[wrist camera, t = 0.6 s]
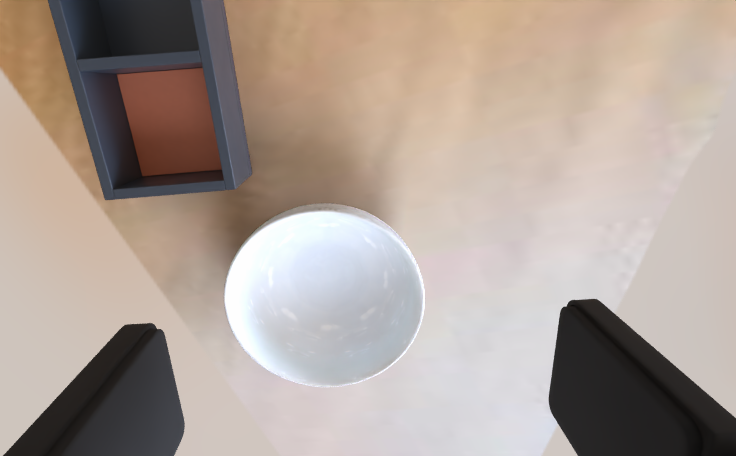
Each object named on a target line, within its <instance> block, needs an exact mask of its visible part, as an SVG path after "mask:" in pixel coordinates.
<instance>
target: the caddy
mask: <svg viewBox="0 0 736 456" xmlns="http://www.w3.org/2000/svg"><path fill="white" fill-rule="evenodd" d="M48 3H49V6H50V10H51V13H52V17H53V20H54V24H55V27H56V31H57V34H58V38H59V41H60V45H61V48H62V52H63V55H64V59H65V62H66V66H67V69H68V73H69V76H70V79H71V83H72V86H73V90H74V93H75V97H76V100H77V104H78V107H79V111H80V114H81V118H82V121H83V125H84V128H85V132H86V135H87V139H88V142H89V145H90V149H91V152H92V156H93V159H94V163H95V166H96V170H97V173H98V177H99V180H100V184H101V187H102V191H103V194H104V198H105V200H114V199H126V198H138V197H150V196H162V195H174V194H186V193H198V192H210V191H222V190H233V189H236V188H237V187H239V186H240V185H241V184H242V183H243V182H244V181H245V180H246V179H247V178H248V177H250V176H251V175H252V169H251V163H250V157H249V151H248V145H247V139H246V133H245V127H244V121H243V115H242V109H241V103H240V97H239V91H238V85H237V79H236V73H235V67H234V61H233V55H232V49H231V43H230V37H229V31H228V25H227V19H226V13H225V7H224V1H223V0H48Z"/></svg>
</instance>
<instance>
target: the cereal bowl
mask: <svg viewBox="0 0 736 456" xmlns="http://www.w3.org/2000/svg"><path fill="white" fill-rule="evenodd" d="M224 305H225V311H226V316H227V319H228V322H229V325H230V328H231V330H232V332H233V334H234V336H235V337H236V339H237V341H238V342H239V344H240V345H241V346H242V348H243V349H244V350H245V351H246V353H247V354H248V355H249V356H250V357H251V358H252V359H253V360H254V361H256V362H257V363H258V364H259V365H261V366H262V367H263V368H265V369H266V370H268V371H270V372H271V373H273V374H275V375H277V376H279V377H282V378H284V379H286V380H289V381H292V382H295V383H299V384H303V385H308V386H316V387H338V386H345V385H350V384H355V383H358V382H361V381H364V380H367V379H369V378H371V377H374V376H376V375H378V374H379V373H381V372H383V371H384V370H386V369H387V368H389V367H390V366H391V365H393V364H394V363H395V362H396V361H397V360H398V359H399V358H400V357H401V356H402V355H403V354H404V353H405V352H406V350H407V349H408V348H409V346H410V345H411V343H412V342H413V340H414V339H415V337H416V335H417V332H418V330H419V327H420V324H421V321H422V318H423V313H424V306H425V293H424V286H423V281H422V276H421V274H420V270H419V267H418V265H417V263H416V260H415V259H414V257H413V254H412V253H411V251H410V250H409V248H408V247H407V245H406V244H405V243H404V241H403V240H402V238H400V236H399V235H398V234H397V233H396V232H395V231H394V230H393V229H392V228H391V227H389V226H388V225H387V224H386V223H384V222H383V221H382V220H380V219H378V218H377V217H375V216H374V215H372V214H369V213H368V212H366V211H363V210H360V209H357V208H355V207H350V206H346V205H342V204H334V203H330V204H329V203H325V204H324V203H320V204H310V205H304V206H299V207H295V208H292V209H290V210H287V211H284V212H283V213H280V214H278V215H276V216H275V217H273V218H271V219H270V220H268V221H266V222H265V223H264V224H262V225H261V226H260V227H258V229H256V230H255V231H254V232H253V233H252V234H251V235H250V236H249V237H248V238H247V239H246V240H245V242H244V243H243V244H242V246H241V247H240V248H239V250H238V251H237V253H236V255H235V257H234V258H233V260H232V263H231V265H230V268H229V270H228V273H227V277H226V282H225V286H224Z"/></svg>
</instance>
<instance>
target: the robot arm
mask: <svg viewBox="0 0 736 456" xmlns="http://www.w3.org/2000/svg"><path fill="white" fill-rule="evenodd" d="M549 406H550V409H551V412H552V414H553V416H554V418H555V419H556V421H557V423H558V424H559V426H560V427H561V429H562V431H563V432H564V434H565V435H566V437H567V439H568V440H569V442H570V443H571V445H572V447H573V448H574V450H575V451H576V453H577V455H578V456H736V418H735V417H734V416H732V415H731V414H730V413H729V412H728V411H727V410H726V409H724V408H723V407H722V406H721V405H720V404H719V403H717V402H716V401H715V400H714V399H713V398H712V397H710V396H709V395H708V394H707V393H706V392H705V391H703V390H702V389H701V388H700V387H699V386H697V385H696V384H695V383H694V382H693V381H692V380H691V379H690V378H688V377H687V376H686V375H685V374H684V373H682V372H681V371H680V370H679V369H678V368H677V367H676V366H674V365H673V364H672V363H671V362H670V361H669V360H668V359H666V358H665V357H664V356H663V355H662V354H661V353H659V352H658V351H657V350H656V349H655V348H654V347H652V346H651V345H650V344H649V343H648V342H646V341H645V340H644V339H643V338H642V337H641V336H640V335H638V334H637V333H636V332H635V331H634V330H633V329H631V328H630V327H629V326H628V325H627V324H626V323H625V322H623V321H622V320H621V319H620V318H619V317H618V316H616V315H615V314H614V313H613V312H612V311H611V310H609V309H608V308H607V307H606V306H605V305H604V304H603V303H601V302H600V301H599V300H597V299H585V300H571V301H570V302H569V303H568V304H567V307H563V308H562V309H561V312H560V318H559V325H558V333H557V340H556V348H555V355H554V362H553V370H552V377H551V385H550V392H549ZM183 433H184V418H183V413H182V409H181V404H180V400H179V395H178V391H177V387H176V383H175V378H174V374H173V369H172V365H171V360H170V356H169V352H168V347H167V343H166V339H165V335H164V332H163V331H162V330H161V329H157V328H156V326H155V325H154V324H152V323H147V324H130V325H124V326H123V327H122V328H121V329H120V330H119V331H118V332H117V333H116V334H115V335H114V337H113V338H112V339H111V340H110V341H109V342H108V343H107V344H106V345H105V346H104V347H103V348H102V349H101V350H100V352H99V353H98V354H97V355H96V356H95V357H94V358H93V359H92V360H91V362H89V363H88V365H87V366H86V367H85V368H84V369H83V370H82V371H81V372H80V373H79V374H78V375H77V376H76V378H75V379H74V380H73V381H72V382H71V383H70V384H69V385H68V386H67V387H66V388H65V389H64V391H63V392H62V393H61V394H60V395H59V396H58V397H57V398H56V399H55V400H54V401H53V402H52V404H51V405H50V406H49V407H48V408H47V409H46V410H45V411H44V412H43V413H42V414H41V415H40V417H39V418H38V419H37V420H36V421H35V422H34V423H33V424H32V425H31V426H30V427H29V428H28V429H27V431H26V432H25V433H24V434H23V435H22V436H21V437H20V438H19V439H18V440H17V441H16V443H14V445H13V446H12V447H11V448H10V449H9V450H8V451H7V452H6V453H5V454H4V455H3V456H174V455H175V452H176V450H177V448H178V446H179V444H180V442H181V439H182V437H183Z"/></svg>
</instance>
